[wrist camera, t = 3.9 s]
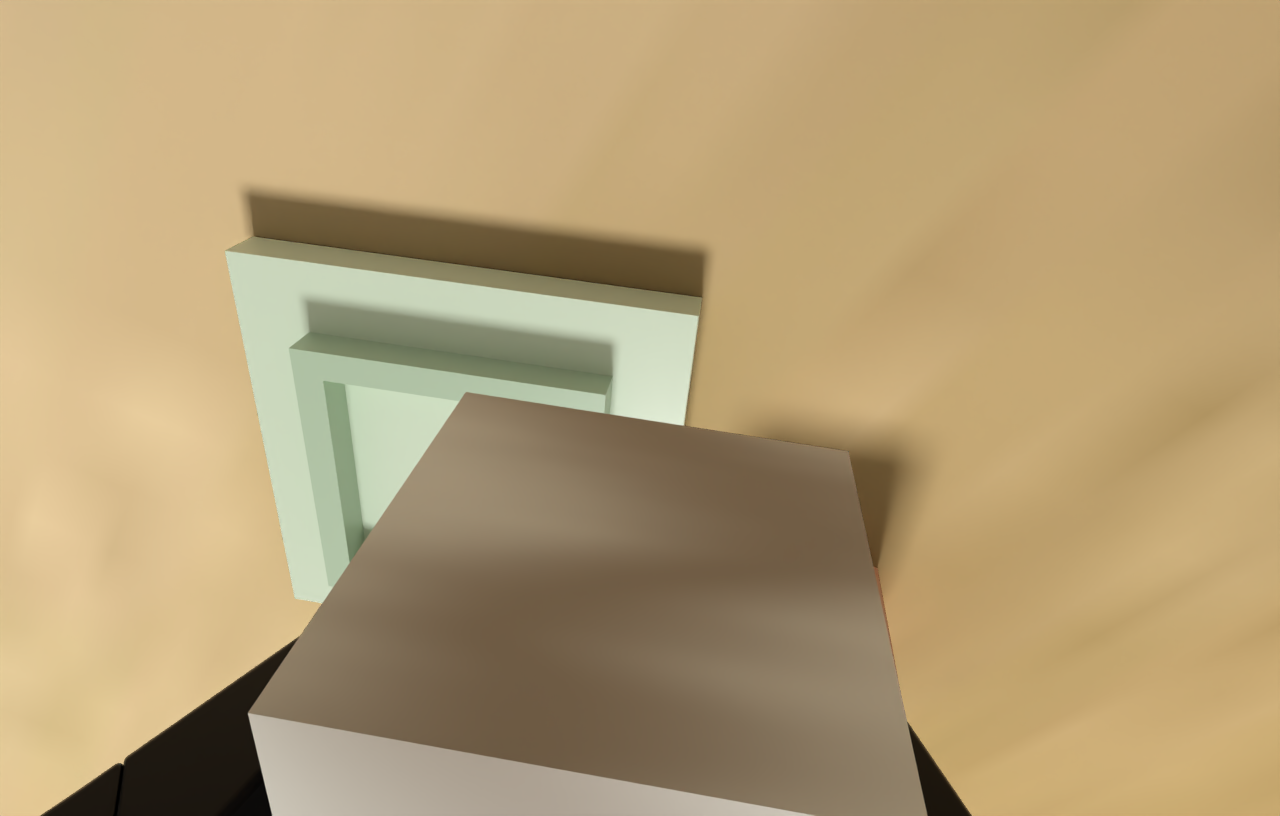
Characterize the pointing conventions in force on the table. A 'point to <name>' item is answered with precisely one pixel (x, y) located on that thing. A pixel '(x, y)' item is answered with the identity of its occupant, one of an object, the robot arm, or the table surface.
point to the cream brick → (598, 635)
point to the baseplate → (424, 371)
